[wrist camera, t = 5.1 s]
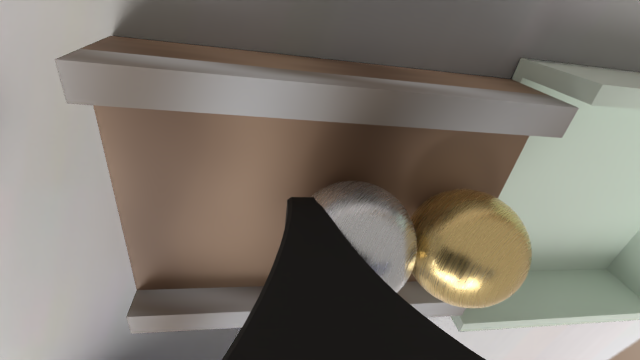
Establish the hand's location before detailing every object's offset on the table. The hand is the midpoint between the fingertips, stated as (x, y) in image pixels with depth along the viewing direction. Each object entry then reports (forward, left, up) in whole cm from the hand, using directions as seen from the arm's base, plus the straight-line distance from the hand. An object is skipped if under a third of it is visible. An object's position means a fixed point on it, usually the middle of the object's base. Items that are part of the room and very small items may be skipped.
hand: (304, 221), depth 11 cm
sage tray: (+14, -1, -3) cm, 14 cm away
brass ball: (+5, -1, +1) cm, 6 cm away
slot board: (+1, -1, -3) cm, 4 cm away
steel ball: (+1, 0, +1) cm, 2 cm away
